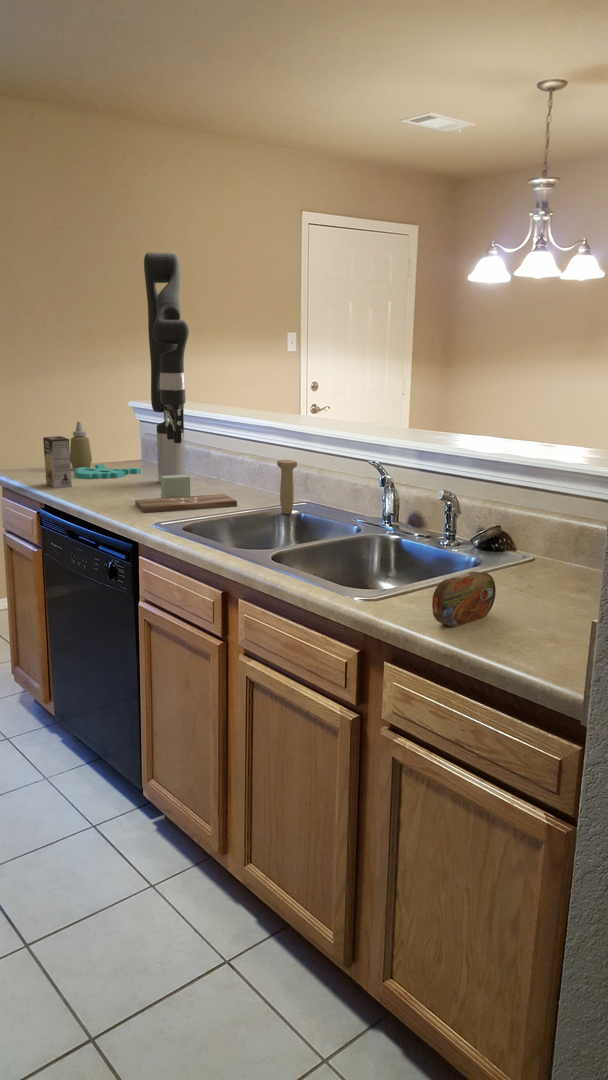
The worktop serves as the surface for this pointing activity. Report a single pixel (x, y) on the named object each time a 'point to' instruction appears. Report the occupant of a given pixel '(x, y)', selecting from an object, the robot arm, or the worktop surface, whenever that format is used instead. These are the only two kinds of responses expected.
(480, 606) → the tin
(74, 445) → the squeeze bottle
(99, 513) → the worktop surface
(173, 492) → the block
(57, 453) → the coffee box
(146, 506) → the walnut board
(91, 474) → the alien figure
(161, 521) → the worktop surface
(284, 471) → the handle
